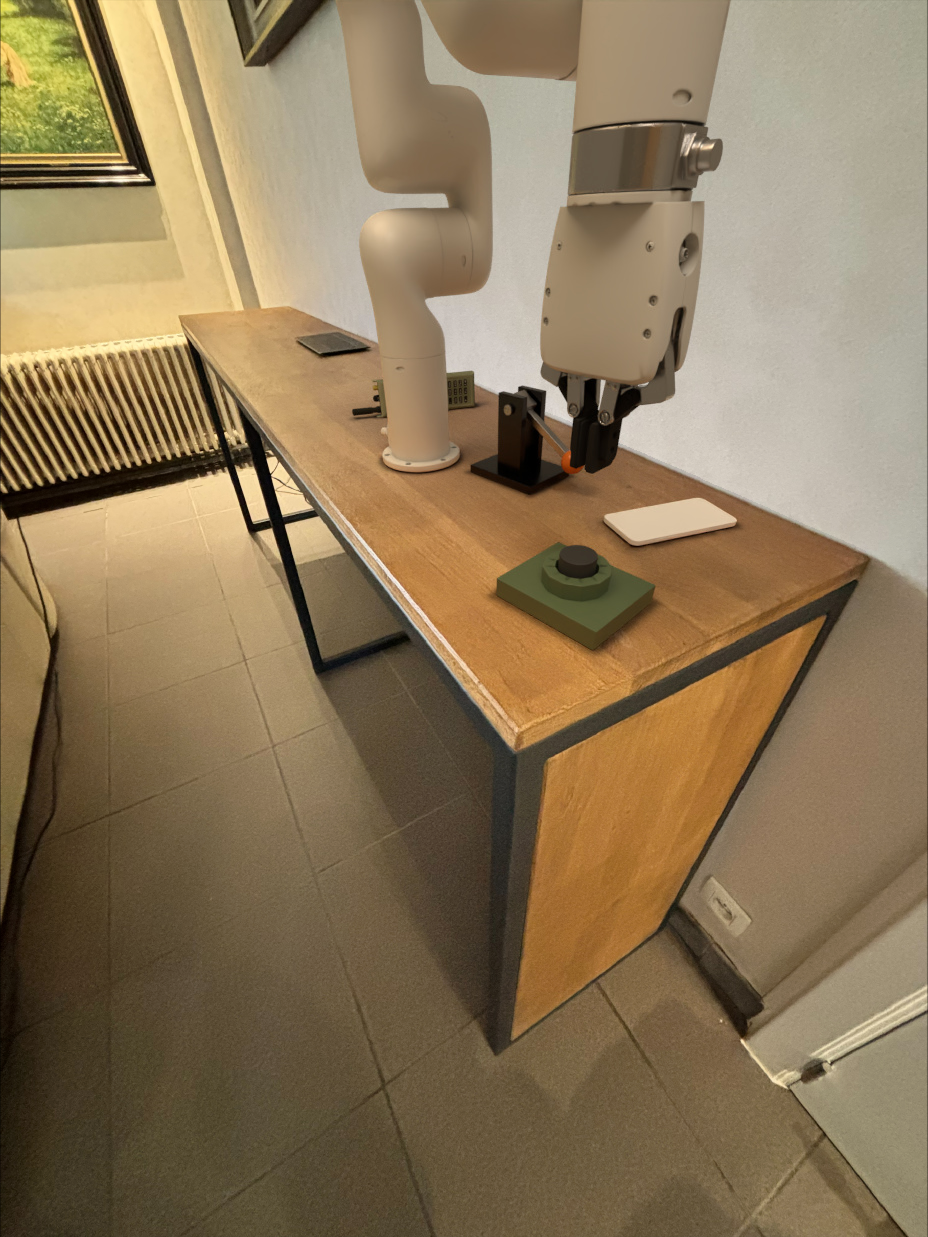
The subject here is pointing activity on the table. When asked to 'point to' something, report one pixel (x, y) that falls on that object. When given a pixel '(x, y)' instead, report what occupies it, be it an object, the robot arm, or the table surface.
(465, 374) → the handheld radio
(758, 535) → the table surface
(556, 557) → the button box
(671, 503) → the smartphone
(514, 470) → the switch bracket
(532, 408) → the switch lever
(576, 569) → the push button
